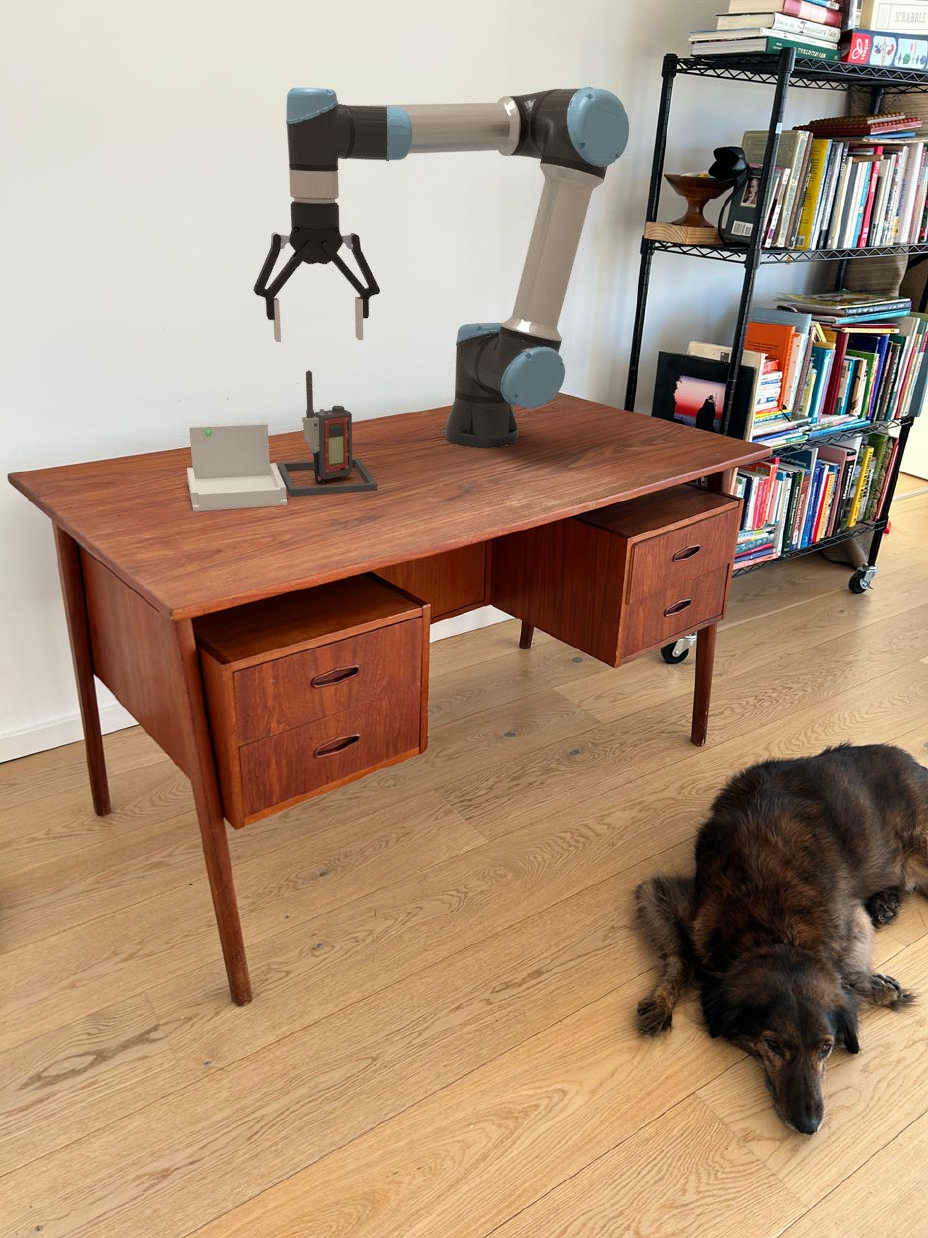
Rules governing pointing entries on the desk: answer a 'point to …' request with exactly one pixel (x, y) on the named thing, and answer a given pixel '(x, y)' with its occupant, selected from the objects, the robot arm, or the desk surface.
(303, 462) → the grey square frame
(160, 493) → the desk surface
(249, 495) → the dock
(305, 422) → the walkie-talkie
